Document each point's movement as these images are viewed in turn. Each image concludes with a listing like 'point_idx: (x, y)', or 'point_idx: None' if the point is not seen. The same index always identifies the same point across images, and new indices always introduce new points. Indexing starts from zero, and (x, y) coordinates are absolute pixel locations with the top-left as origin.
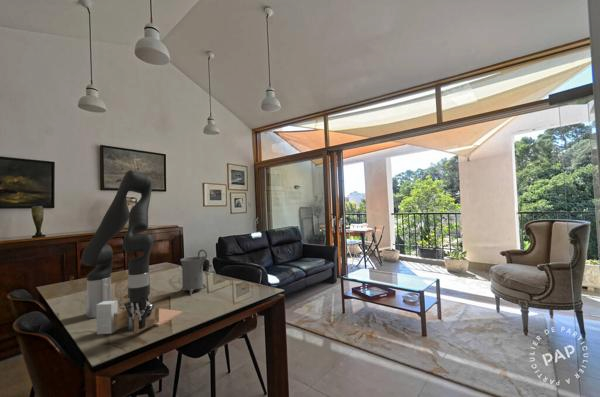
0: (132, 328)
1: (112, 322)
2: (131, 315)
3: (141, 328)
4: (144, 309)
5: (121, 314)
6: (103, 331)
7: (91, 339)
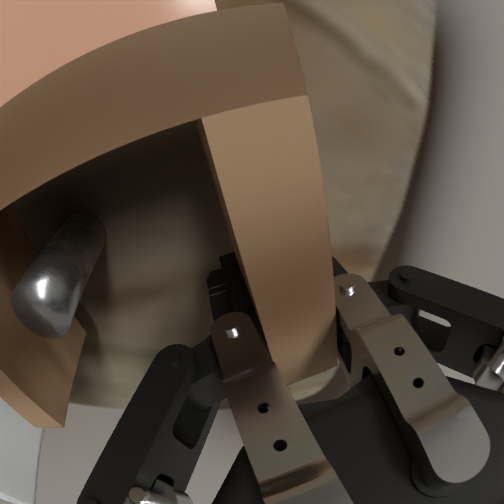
0: (102, 241)
1: None
2: (219, 397)
3: None
4: (386, 357)
5: (39, 388)
6: None
7: (80, 383)
